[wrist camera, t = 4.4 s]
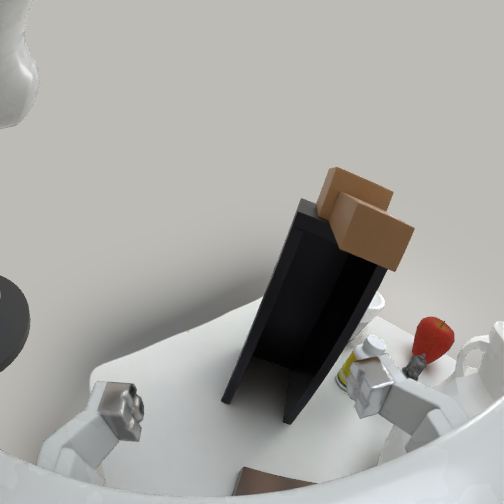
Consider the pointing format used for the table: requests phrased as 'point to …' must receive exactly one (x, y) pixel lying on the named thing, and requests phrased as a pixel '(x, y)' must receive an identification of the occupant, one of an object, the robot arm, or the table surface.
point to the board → (264, 483)
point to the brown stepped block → (363, 218)
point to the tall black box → (308, 308)
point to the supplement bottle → (361, 356)
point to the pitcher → (464, 385)
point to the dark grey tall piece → (414, 367)
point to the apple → (432, 339)
